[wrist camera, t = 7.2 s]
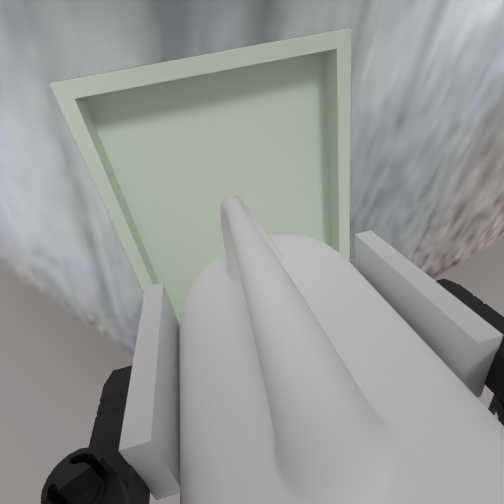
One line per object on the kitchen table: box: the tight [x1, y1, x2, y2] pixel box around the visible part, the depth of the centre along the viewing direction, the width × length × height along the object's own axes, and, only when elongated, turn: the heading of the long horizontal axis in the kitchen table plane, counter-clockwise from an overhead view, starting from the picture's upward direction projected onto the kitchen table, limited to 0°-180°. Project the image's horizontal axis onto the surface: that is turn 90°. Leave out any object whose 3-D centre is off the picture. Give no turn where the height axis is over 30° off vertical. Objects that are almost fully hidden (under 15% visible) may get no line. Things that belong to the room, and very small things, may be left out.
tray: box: [49, 27, 351, 324], centre depth 20 cm, size 18×15×2 cm
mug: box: [179, 195, 504, 504], centre depth 10 cm, size 9×12×11 cm
